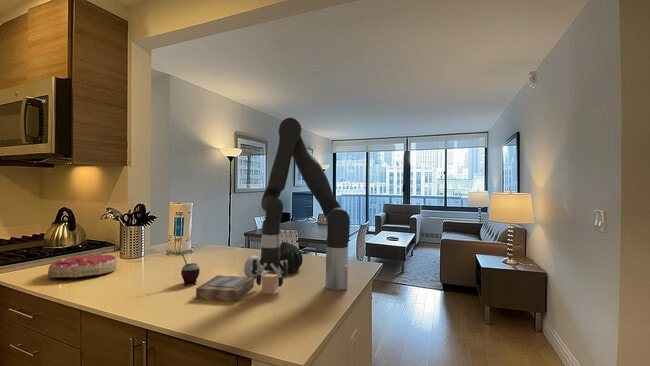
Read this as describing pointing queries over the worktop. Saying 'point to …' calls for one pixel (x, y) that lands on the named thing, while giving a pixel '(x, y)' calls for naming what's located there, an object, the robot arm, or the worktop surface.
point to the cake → (83, 266)
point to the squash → (290, 256)
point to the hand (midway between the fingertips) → (269, 285)
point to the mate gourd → (189, 272)
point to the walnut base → (225, 288)
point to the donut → (250, 266)
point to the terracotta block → (270, 283)
